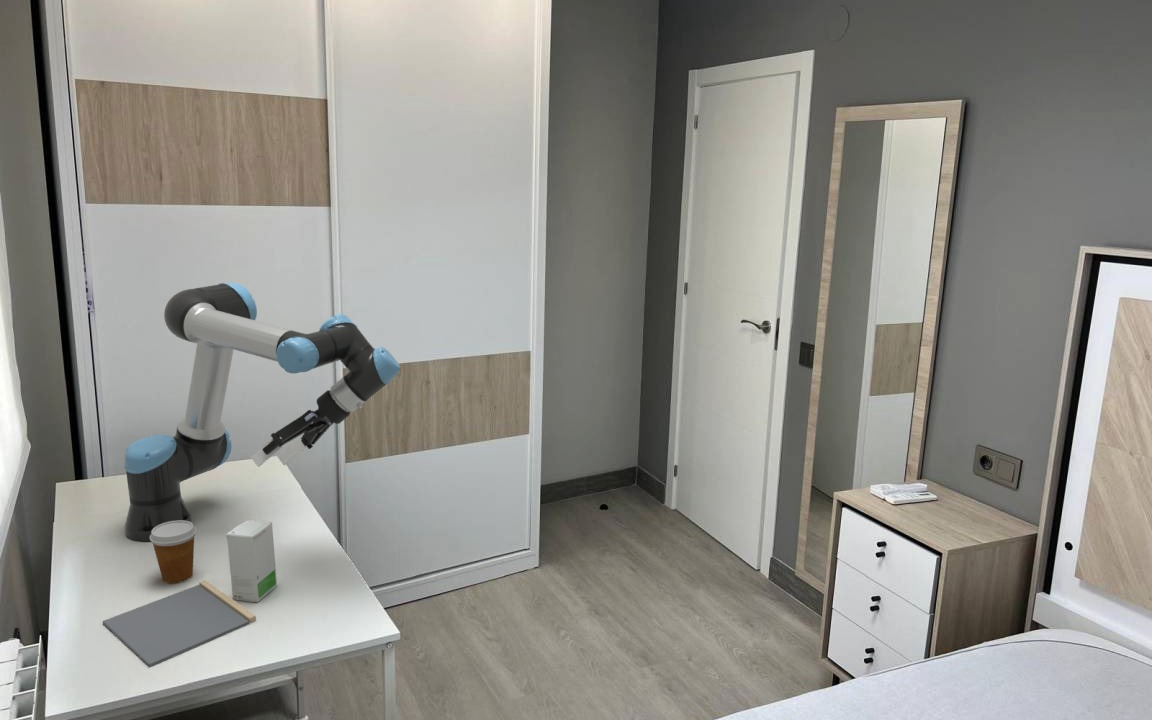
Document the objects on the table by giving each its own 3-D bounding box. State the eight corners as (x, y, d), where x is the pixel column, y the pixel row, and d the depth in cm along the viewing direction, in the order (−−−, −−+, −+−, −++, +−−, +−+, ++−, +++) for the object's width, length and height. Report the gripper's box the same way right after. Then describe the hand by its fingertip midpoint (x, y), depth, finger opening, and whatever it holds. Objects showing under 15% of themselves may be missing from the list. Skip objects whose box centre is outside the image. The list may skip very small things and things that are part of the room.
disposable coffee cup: (155, 591, 184) (149, 541, 181) (154, 571, 193) (148, 524, 190) (202, 581, 189) (197, 533, 186) (199, 563, 197) (194, 516, 194)
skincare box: (257, 603, 180) (251, 537, 176) (229, 599, 181) (223, 534, 178) (278, 584, 188) (273, 521, 184) (252, 581, 189) (247, 517, 186)
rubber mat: (103, 623, 172) (102, 618, 171) (205, 584, 187) (204, 579, 187) (149, 667, 158) (149, 661, 157) (256, 620, 174) (255, 615, 173)
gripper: (330, 411, 177) (253, 476, 177) (367, 415, 202) (300, 472, 202) (309, 384, 178) (232, 448, 178) (348, 392, 203) (281, 448, 202)
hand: (268, 461), depth 190 cm, fingers open, 13 cm apart
